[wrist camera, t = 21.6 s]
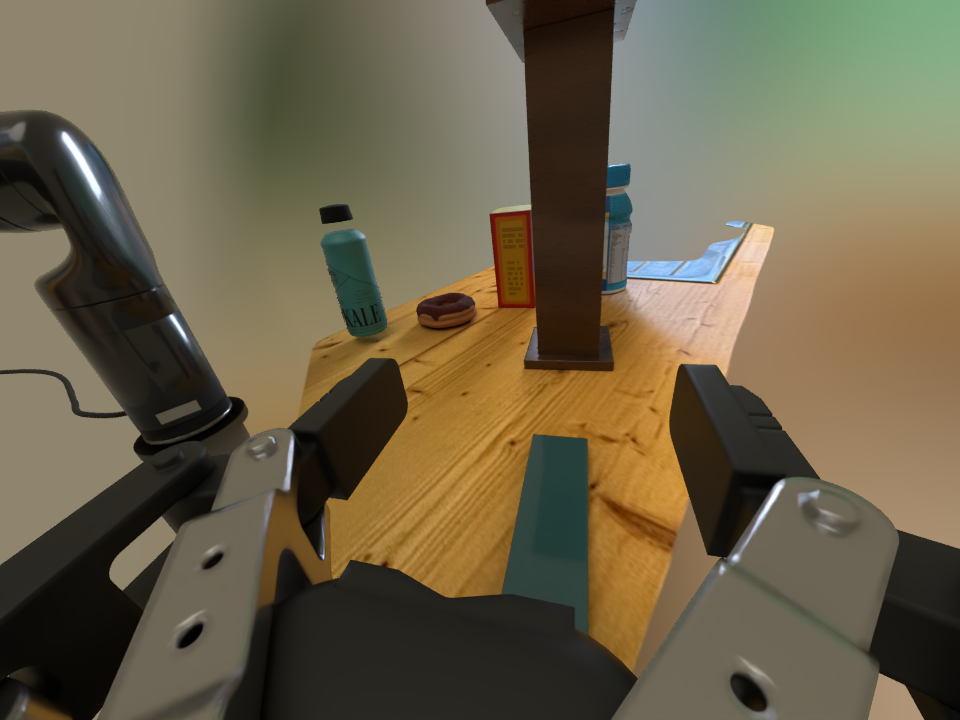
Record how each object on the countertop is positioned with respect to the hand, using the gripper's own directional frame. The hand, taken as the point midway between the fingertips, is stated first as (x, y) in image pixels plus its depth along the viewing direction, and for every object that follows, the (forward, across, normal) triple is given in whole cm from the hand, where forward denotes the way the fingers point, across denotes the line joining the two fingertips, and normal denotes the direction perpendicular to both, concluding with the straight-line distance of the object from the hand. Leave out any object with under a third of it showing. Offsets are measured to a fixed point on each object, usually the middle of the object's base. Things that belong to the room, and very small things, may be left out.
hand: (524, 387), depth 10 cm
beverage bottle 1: (+36, -31, -16) cm, 51 cm away
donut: (+43, -20, -16) cm, 50 cm away
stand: (+30, 0, -16) cm, 34 cm away
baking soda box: (+53, -9, -16) cm, 56 cm away
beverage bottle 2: (+58, +5, -16) cm, 60 cm away
